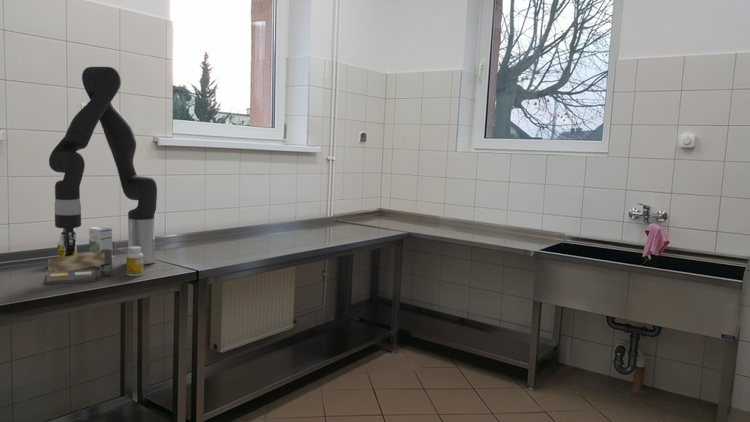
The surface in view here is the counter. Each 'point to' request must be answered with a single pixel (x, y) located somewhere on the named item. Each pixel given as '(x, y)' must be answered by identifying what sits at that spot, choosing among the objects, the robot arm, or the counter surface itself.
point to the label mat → (70, 276)
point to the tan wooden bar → (80, 261)
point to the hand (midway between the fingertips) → (69, 264)
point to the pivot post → (106, 270)
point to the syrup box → (100, 239)
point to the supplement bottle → (134, 261)
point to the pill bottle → (61, 250)
